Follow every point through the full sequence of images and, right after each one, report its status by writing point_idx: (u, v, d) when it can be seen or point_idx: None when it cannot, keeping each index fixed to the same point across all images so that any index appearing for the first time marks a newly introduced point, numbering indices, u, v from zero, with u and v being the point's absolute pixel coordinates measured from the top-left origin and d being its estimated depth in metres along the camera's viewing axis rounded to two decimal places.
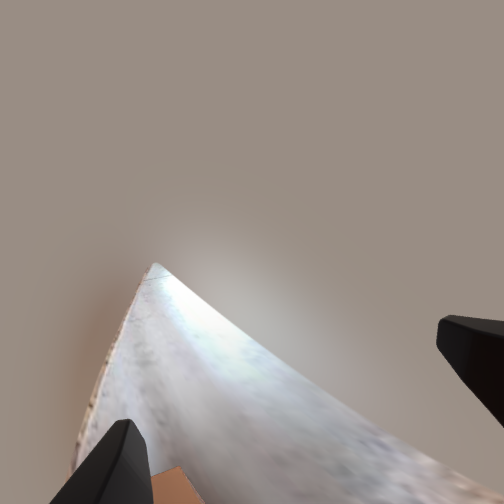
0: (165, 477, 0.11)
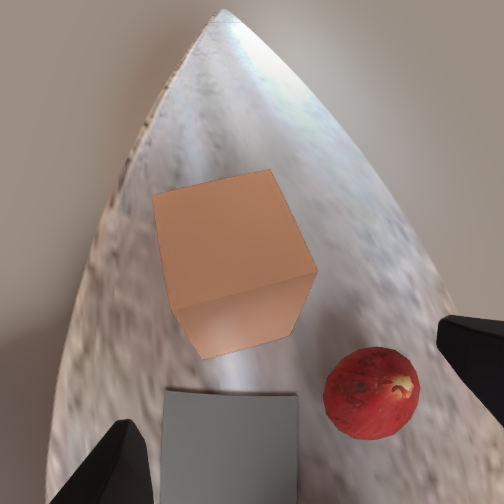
0: (256, 177, 0.16)
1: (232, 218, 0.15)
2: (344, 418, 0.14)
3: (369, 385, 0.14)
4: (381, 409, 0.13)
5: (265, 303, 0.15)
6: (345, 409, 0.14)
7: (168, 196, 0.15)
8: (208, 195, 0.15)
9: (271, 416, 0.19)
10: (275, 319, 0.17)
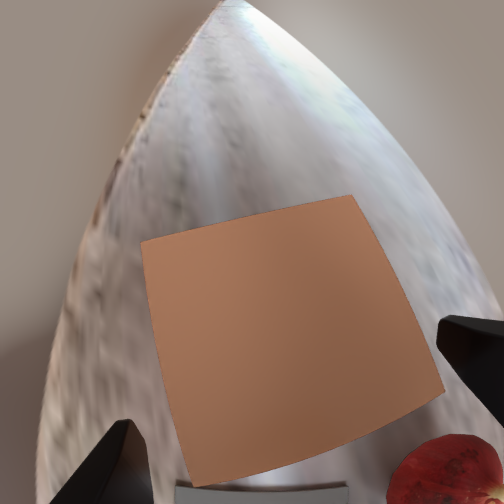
0: (331, 209, 0.09)
1: (300, 296, 0.08)
2: None
3: (458, 499, 0.07)
4: None
5: None
6: None
7: (171, 245, 0.08)
8: (249, 246, 0.08)
9: None
10: None
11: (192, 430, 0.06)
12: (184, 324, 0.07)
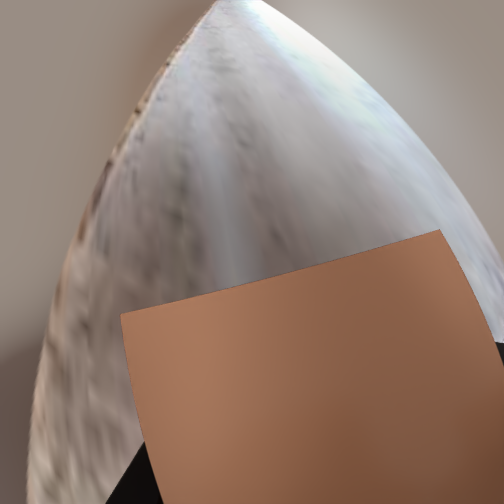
0: (418, 254, 0.05)
1: (386, 406, 0.04)
2: None
3: None
4: None
5: None
6: None
7: (171, 322, 0.05)
8: (306, 326, 0.05)
9: None
10: None
11: None
12: (203, 464, 0.04)
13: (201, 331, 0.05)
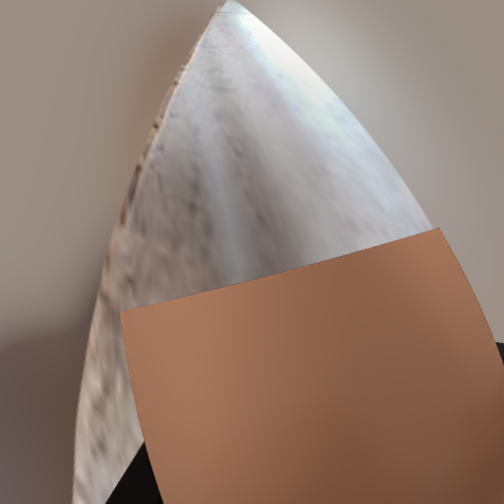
0: (417, 253, 0.05)
1: (385, 403, 0.04)
2: None
3: None
4: None
5: None
6: None
7: (171, 320, 0.05)
8: (305, 324, 0.05)
9: None
10: None
11: None
12: (203, 461, 0.04)
13: (200, 329, 0.05)
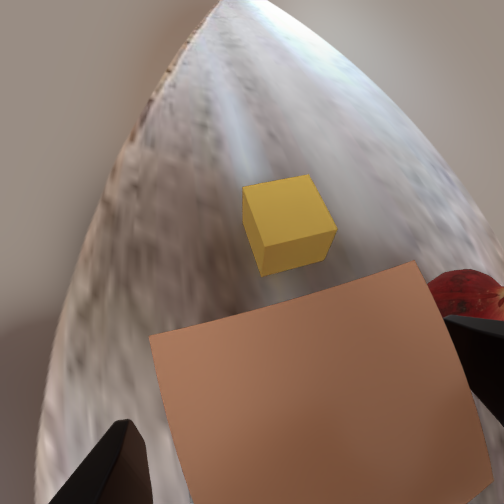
0: (393, 284, 0.07)
1: (360, 408, 0.05)
2: None
3: (472, 302, 0.10)
4: None
5: None
6: None
7: (191, 342, 0.06)
8: (297, 345, 0.06)
9: None
10: None
11: None
12: (218, 451, 0.05)
13: (215, 349, 0.06)
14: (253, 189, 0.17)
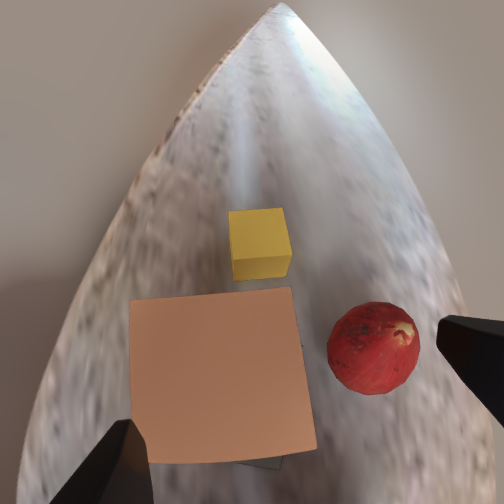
0: (268, 297, 0.12)
1: (226, 360, 0.11)
2: (345, 361, 0.16)
3: (373, 328, 0.15)
4: (381, 354, 0.15)
5: None
6: (347, 351, 0.16)
7: (149, 306, 0.12)
8: (201, 318, 0.12)
9: None
10: None
11: (142, 428, 0.09)
12: (149, 363, 0.10)
13: (160, 312, 0.12)
14: (236, 214, 0.23)
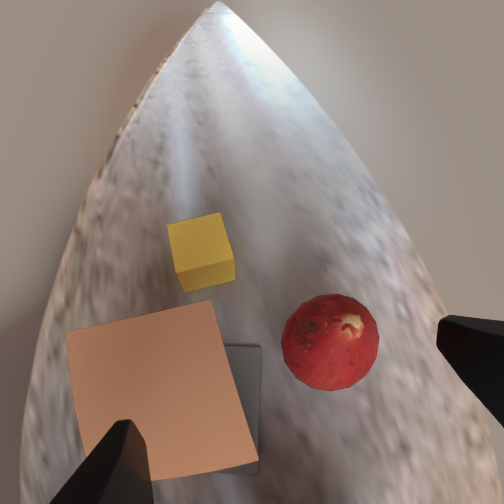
0: (190, 313, 0.12)
1: (156, 380, 0.10)
2: (298, 361, 0.16)
3: (319, 324, 0.15)
4: (332, 350, 0.15)
5: None
6: (298, 350, 0.16)
7: (83, 336, 0.11)
8: (128, 342, 0.11)
9: (234, 366, 0.20)
10: None
11: None
12: (88, 390, 0.10)
13: (92, 340, 0.11)
14: (174, 226, 0.22)
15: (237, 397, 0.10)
